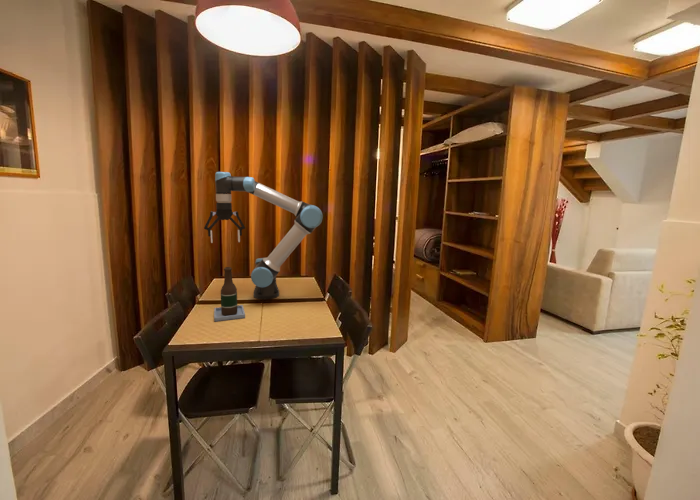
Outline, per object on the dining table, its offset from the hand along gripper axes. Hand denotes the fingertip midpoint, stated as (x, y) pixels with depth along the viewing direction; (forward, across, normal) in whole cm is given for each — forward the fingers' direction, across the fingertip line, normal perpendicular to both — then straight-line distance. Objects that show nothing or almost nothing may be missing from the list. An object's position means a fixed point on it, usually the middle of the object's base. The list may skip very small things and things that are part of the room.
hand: (225, 242), depth 167 cm
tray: (+35, 0, +17) cm, 39 cm away
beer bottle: (+34, 0, +17) cm, 38 cm away
